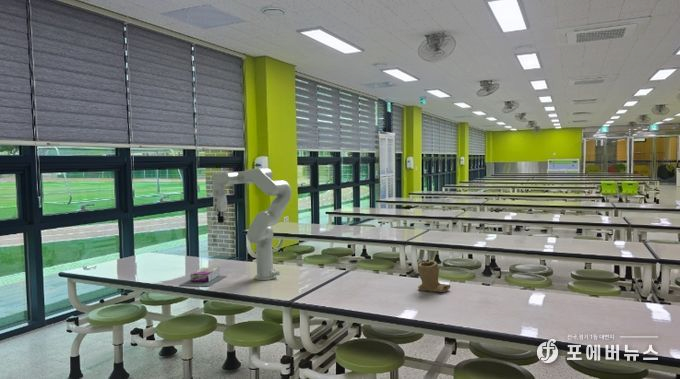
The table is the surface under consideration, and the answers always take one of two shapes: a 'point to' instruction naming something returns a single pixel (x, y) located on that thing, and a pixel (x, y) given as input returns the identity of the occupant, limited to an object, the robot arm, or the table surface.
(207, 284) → the charcoal mat
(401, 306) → the table surface
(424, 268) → the tan boot
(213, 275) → the candy bar box
